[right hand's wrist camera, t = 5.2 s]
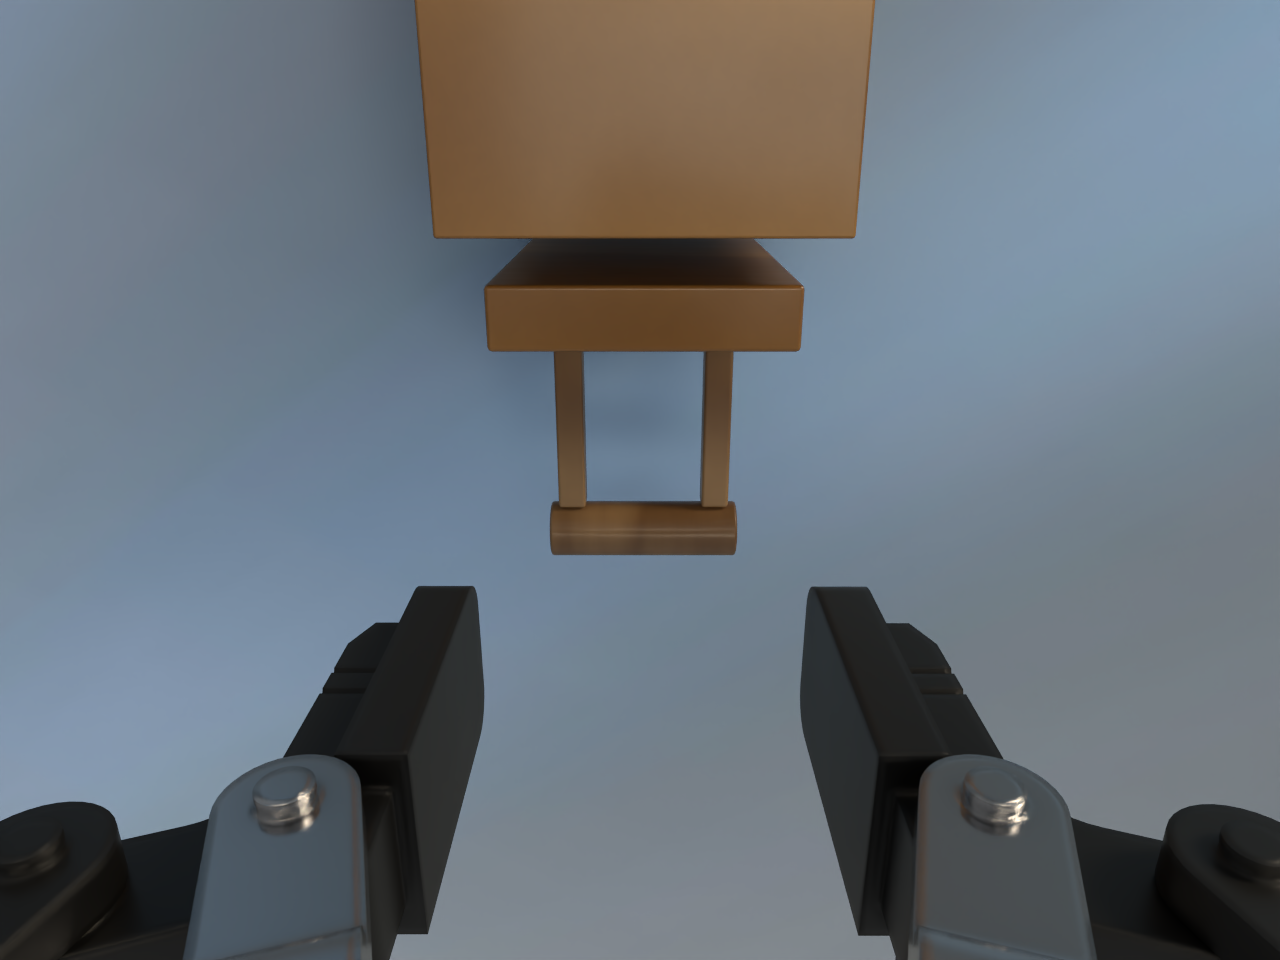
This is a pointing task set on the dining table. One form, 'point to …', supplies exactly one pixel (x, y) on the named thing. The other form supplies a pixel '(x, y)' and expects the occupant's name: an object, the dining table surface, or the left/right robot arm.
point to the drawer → (643, 322)
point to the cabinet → (644, 117)
